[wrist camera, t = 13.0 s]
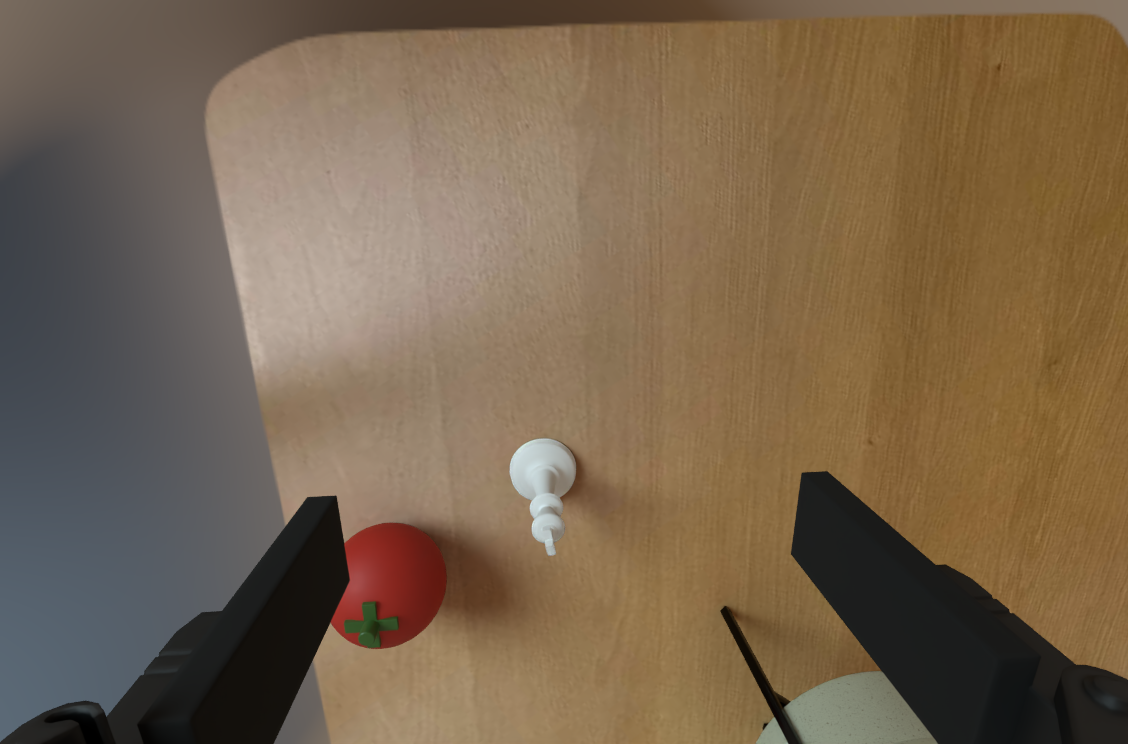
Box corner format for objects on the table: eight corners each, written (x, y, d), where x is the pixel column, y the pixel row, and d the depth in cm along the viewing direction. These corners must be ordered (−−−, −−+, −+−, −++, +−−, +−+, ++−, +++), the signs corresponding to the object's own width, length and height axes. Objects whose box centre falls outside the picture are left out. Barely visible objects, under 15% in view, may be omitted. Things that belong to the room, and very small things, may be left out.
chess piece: (569, 432, 38) (585, 502, 29) (581, 491, 40) (600, 576, 30) (503, 445, 38) (497, 520, 29) (517, 504, 40) (516, 594, 30)
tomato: (339, 504, 39) (285, 586, 30) (449, 498, 39) (429, 578, 30) (352, 596, 41) (306, 698, 32) (456, 589, 41) (439, 688, 33)
